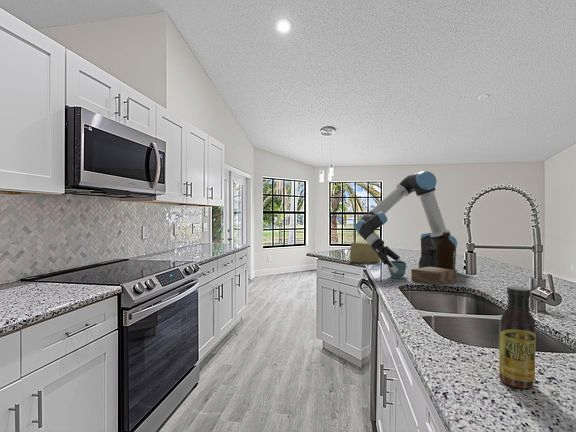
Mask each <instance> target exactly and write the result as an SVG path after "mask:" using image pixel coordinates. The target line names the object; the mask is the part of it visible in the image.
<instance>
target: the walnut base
mask: <svg viewBox="0 0 576 432" xmlns="http://www.w3.org/2000/svg"><path fill="white" fill-rule="evenodd" d="M410 275H411V281H413V282H414V281H415V282H419V283H425V284H430V285H437V286H440V285H445V284H450V283H451V284H452V283H456V282H457V281H458V276H457V275H458V271H457V269H455V270H452V269H445V268H437V267H424V268H420V267H418V268H412V269H411V274H410Z"/></svg>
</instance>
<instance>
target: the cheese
mask: <svg viewBox="0 0 576 432" xmlns="http://www.w3.org/2000/svg"><path fill="white" fill-rule="evenodd" d="M349 261H350V263H369V262H380V263H381V259H380V257H379V256H378V254H377V253H376V251H374V250H373V249H372V247H371V246H370V245H369V244H367V242H351V243H350V250H349Z"/></svg>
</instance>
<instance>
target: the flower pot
mask: <svg viewBox="0 0 576 432" xmlns="http://www.w3.org/2000/svg"><path fill="white" fill-rule="evenodd" d="M390 261H391V262H392V263H393V264H394V265H395V266H396V268H397V269H398V271H397V272H396V273H394V272H393V271H392V270H391V269H390V267H389V266H388V265H387V268H388V269H387V270H388V273H389V275H390V277H391V278H392V279H403V278H404V275H405V274H406V270H407V267H406V266H407V263H406V261H403V260H401V261H395V260H390Z"/></svg>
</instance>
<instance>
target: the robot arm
mask: <svg viewBox="0 0 576 432" xmlns="http://www.w3.org/2000/svg"><path fill="white" fill-rule="evenodd" d="M437 181H438V180H437V177H436V175H435V173H433V172H431V171H428V170H423V171H418V172H415V173H411V174H408V175H407V176H406V177H405V178H403V179H402V180H401V181H400V182H399V183H398V184H397V185H396V187H395V188H394V189H393V190H392V192H389V194H388V195H387V196H386V197H384V198H383V199H382V200H381V201H380V202H379V203H378V204H377V205H375V206H374V207H373V208H372V209H371V210H370V211H369V212H368V213H366V214H364V215H362V216H361V217H360V218H359V221H357V223H355V224H354V229H355V232H356V233H357V234H358V235H360V237H361V238H362V239H363V240H364V241H365V243H367V244H369V245H370V246H371V247H372V249H373V250H374V251H376V253H377V254H378V256H379V257H380V262H382V263H383V265H387V267H388V266H389V267H390V269H391V270H392V271H393V272H394V273H396V272H397V271H398V269H397V268H396V266H395V265H394V264H393V263H392V262H391V261H392V260H393V261H402V260H401V259H400V256H399V255H398V254H397V253H396V252H395V251H393V250H392V249H390V247H389V246H387V245H385V241H384V240H383V239H382V238H381V237H380V236H379V235H378V234H377V233H376V230H378V229H380V228H381V227H382V226H384V225H385V224H386V223H387V222H388V217H387V215H386V213H388V211H390V210H391V209H392V208H394V206H395V205H396V204H398V202H400V201H401V200H402V199H403V198H404V197H408V196H409V195H410V194H412V193H415V194H416V197H419V199H420V202H421V205H422V207H423V210H424V214H425V217H426V219H427V223H428V225H429V229H430V231H431V232H425V233H421V235H420V257H419V262H418V264H417V265H418V266H417V267H418V268H424V267H437V257H436V246H437V244H438V243H439V242H440V241H441V240H442V239H443V232H448V233H449V240H450V241H451V242H452V243H453V244H454V245H455V247H456V249H457V248H458V240H457V238H456V237H455V236H453V235H452V234H451V232H450V229H447V227H446V225H445V222H444V218H443V216H442V213H441V209H440V207H439V203H438V201H437V197H436V196H435V195H436V194H435V192H436V185H437ZM384 245H385V246H384ZM388 257H390V258H391V259H392V260H390V259H389V258H388ZM406 268H408V266H407V265H406Z"/></svg>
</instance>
